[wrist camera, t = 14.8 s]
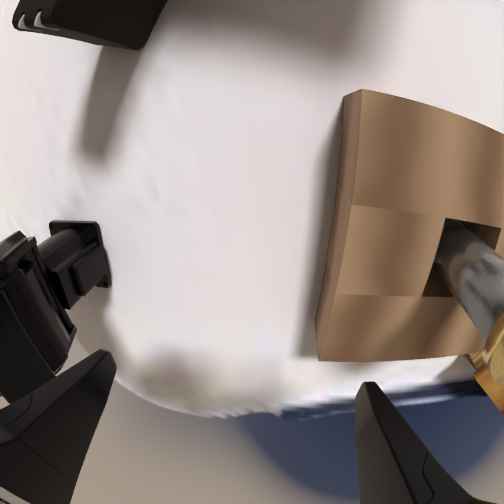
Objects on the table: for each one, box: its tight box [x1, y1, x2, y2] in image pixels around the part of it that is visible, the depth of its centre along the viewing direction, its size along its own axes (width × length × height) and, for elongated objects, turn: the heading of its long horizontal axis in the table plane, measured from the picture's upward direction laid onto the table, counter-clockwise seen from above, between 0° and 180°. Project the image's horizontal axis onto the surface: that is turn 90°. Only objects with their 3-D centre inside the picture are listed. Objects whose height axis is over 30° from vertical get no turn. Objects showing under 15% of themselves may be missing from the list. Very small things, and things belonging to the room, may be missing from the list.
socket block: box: [315, 89, 504, 362], centre depth 16 cm, size 18×18×4 cm
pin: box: [432, 218, 504, 385], centre depth 13 cm, size 5×5×13 cm
